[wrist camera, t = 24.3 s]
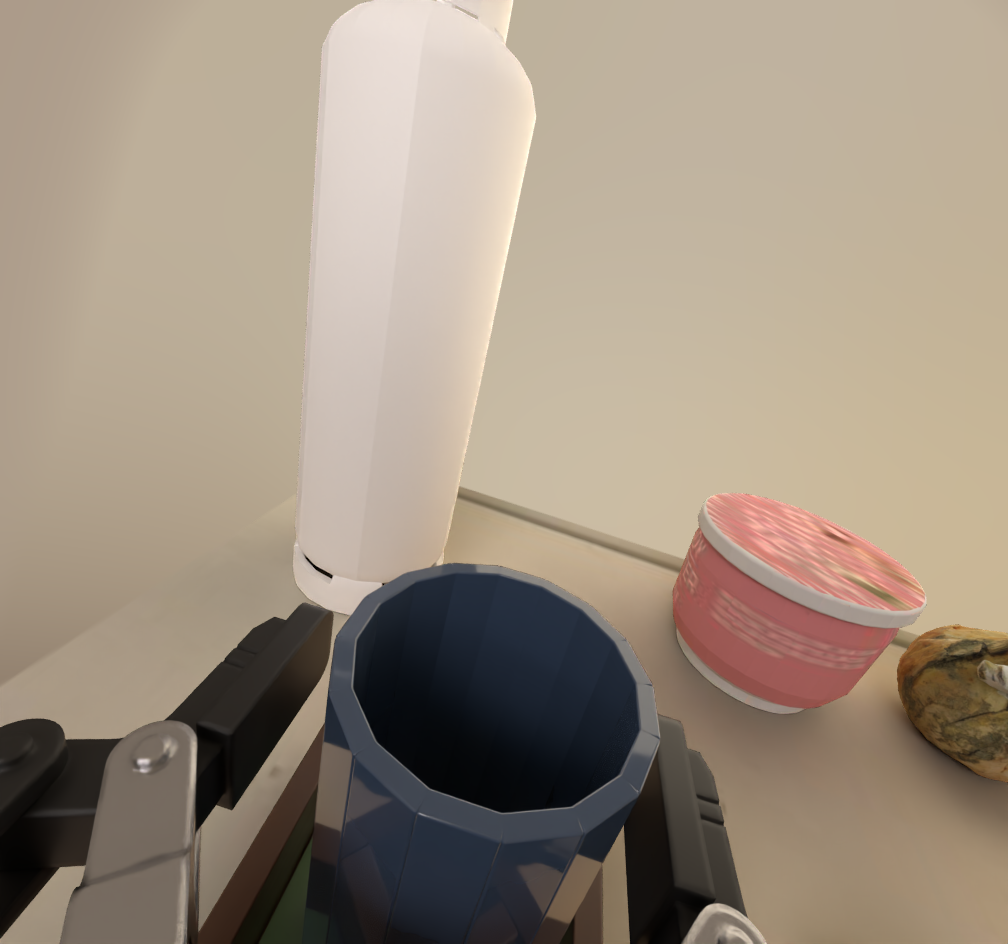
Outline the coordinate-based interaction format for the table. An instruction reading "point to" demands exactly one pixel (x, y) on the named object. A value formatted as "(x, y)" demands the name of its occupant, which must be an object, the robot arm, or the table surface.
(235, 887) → the holder
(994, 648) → the onion
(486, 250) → the bottle
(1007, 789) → the table surface
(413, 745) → the cup
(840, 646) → the container
